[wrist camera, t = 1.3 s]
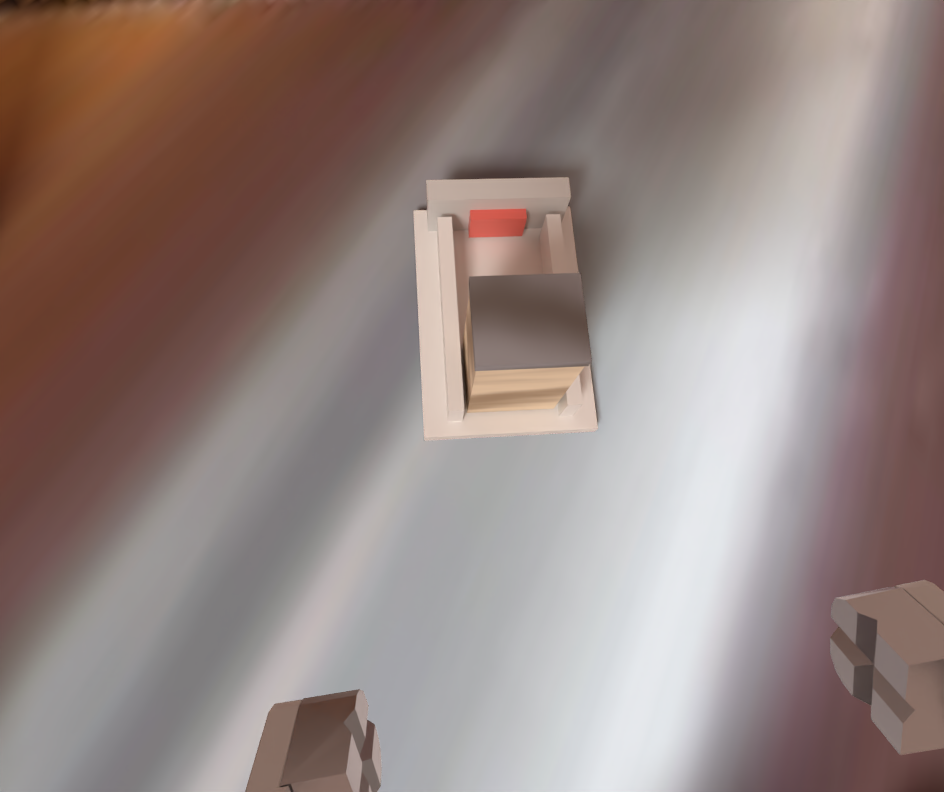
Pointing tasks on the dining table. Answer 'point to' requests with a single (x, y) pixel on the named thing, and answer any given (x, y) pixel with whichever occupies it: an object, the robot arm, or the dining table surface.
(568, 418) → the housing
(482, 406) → the light wood tall block
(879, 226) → the dining table surface
